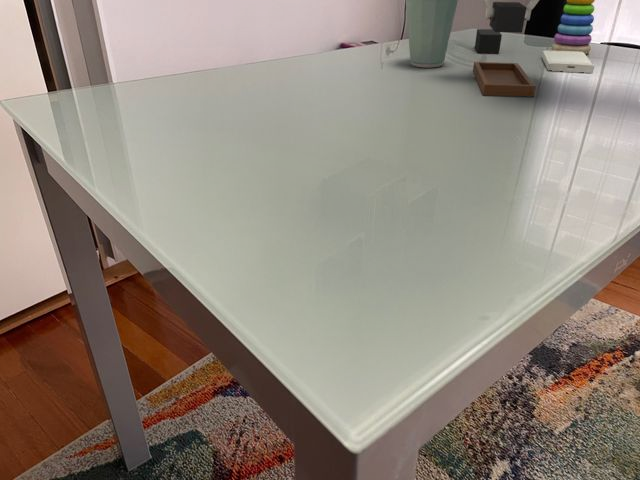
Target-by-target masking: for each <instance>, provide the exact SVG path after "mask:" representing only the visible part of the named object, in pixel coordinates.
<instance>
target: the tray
mask: <svg viewBox="0 0 640 480" xmlns="http://www.w3.org/2000/svg"><path fill="white" fill-rule="evenodd" d="M472 73H473V75H474V77H475V80H476V82H477V84H478V87H479V89H480V92H481V95H482V96H488V97H489V96H490V97H491V96H492V97H515V96H534V97H535V92H536V87H537V86H536V84H535V83H534V82H533V80H532V79H531V78H530V77H529V75H528V74H527V73H526V72H525V70H524V69H523V68H522V67H521V66H520V64H519V63H518V62H495V61H494V62H491V61H490V62H489V61H474V62H473V67H472Z"/></svg>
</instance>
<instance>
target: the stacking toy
mask: <svg viewBox="0 0 640 480" xmlns="http://www.w3.org/2000/svg"><path fill="white" fill-rule="evenodd" d="M595 1H596V0H566V4H564V7H563V14H562V15H561V17H560V22H561V23H559V25H558V26H557V32H558V33H555V35H554V42H553V43H552V45H551V51H577V52H584V54H585V55H587V54H589V53H590V52H591V50H592V49H591V47H592V46H591V45H590V43H592V35H591V34H592V33H593V31H594V27H593V22H594V21H595V16H594V15H593V13H594V12H595V5H593V4H594V3H595Z"/></svg>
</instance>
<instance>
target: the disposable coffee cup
mask: <svg viewBox="0 0 640 480" xmlns="http://www.w3.org/2000/svg"><path fill="white" fill-rule="evenodd" d="M458 1H459V0H405V10H406V24H407V25H406V26H407V35H408V36H407V37H408V47H409V49H408V50H409V60H410V62H411V66H413V67H417V68H438V67H439V68H440V67H442V66H443V65H444V64H443V63H444V62H445V60H446V56H447V55H446V54H447V50H448V47H449V41H450V37H451V33H452V28H453V24H454V20H455V15H456V10H457V6H458Z"/></svg>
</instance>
